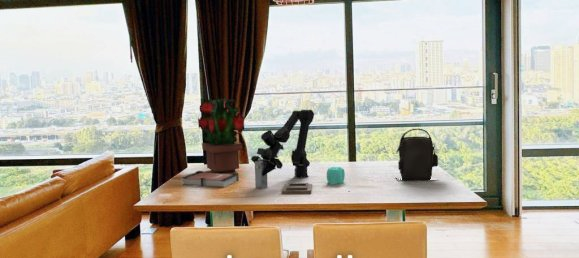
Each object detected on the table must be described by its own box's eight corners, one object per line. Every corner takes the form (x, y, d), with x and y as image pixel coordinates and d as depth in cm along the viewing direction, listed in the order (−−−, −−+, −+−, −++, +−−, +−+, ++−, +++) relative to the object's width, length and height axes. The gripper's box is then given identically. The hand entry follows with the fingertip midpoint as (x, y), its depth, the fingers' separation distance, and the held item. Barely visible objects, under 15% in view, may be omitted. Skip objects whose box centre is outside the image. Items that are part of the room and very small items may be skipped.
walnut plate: (284, 187, 250) (284, 182, 250) (312, 186, 249) (312, 182, 249) (282, 193, 236) (281, 189, 236) (311, 193, 235) (311, 188, 235)
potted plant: (200, 170, 303) (197, 99, 298) (233, 166, 313) (230, 98, 308) (211, 176, 283) (207, 101, 278) (246, 172, 293) (243, 99, 288)
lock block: (261, 186, 254) (260, 160, 252) (267, 187, 251) (266, 161, 249) (254, 188, 250) (253, 162, 248) (260, 189, 247) (259, 162, 245)
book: (182, 185, 263) (181, 177, 262) (198, 179, 279) (198, 170, 278) (223, 188, 253) (223, 179, 253) (238, 181, 270) (238, 172, 269)
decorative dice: (330, 180, 263) (330, 166, 262) (344, 181, 260) (344, 167, 259) (326, 183, 255) (326, 169, 255) (341, 184, 253) (340, 169, 252)
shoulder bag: (435, 177, 264) (436, 127, 261) (440, 180, 255) (440, 128, 252) (394, 177, 265) (394, 128, 262) (397, 181, 256) (397, 129, 253)
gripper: (252, 140, 257) (238, 164, 250) (278, 143, 245) (264, 168, 238) (263, 153, 264) (249, 176, 257) (288, 156, 252) (275, 180, 245)
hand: (259, 175), depth 249 cm, fingers closed on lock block, 4 cm apart
